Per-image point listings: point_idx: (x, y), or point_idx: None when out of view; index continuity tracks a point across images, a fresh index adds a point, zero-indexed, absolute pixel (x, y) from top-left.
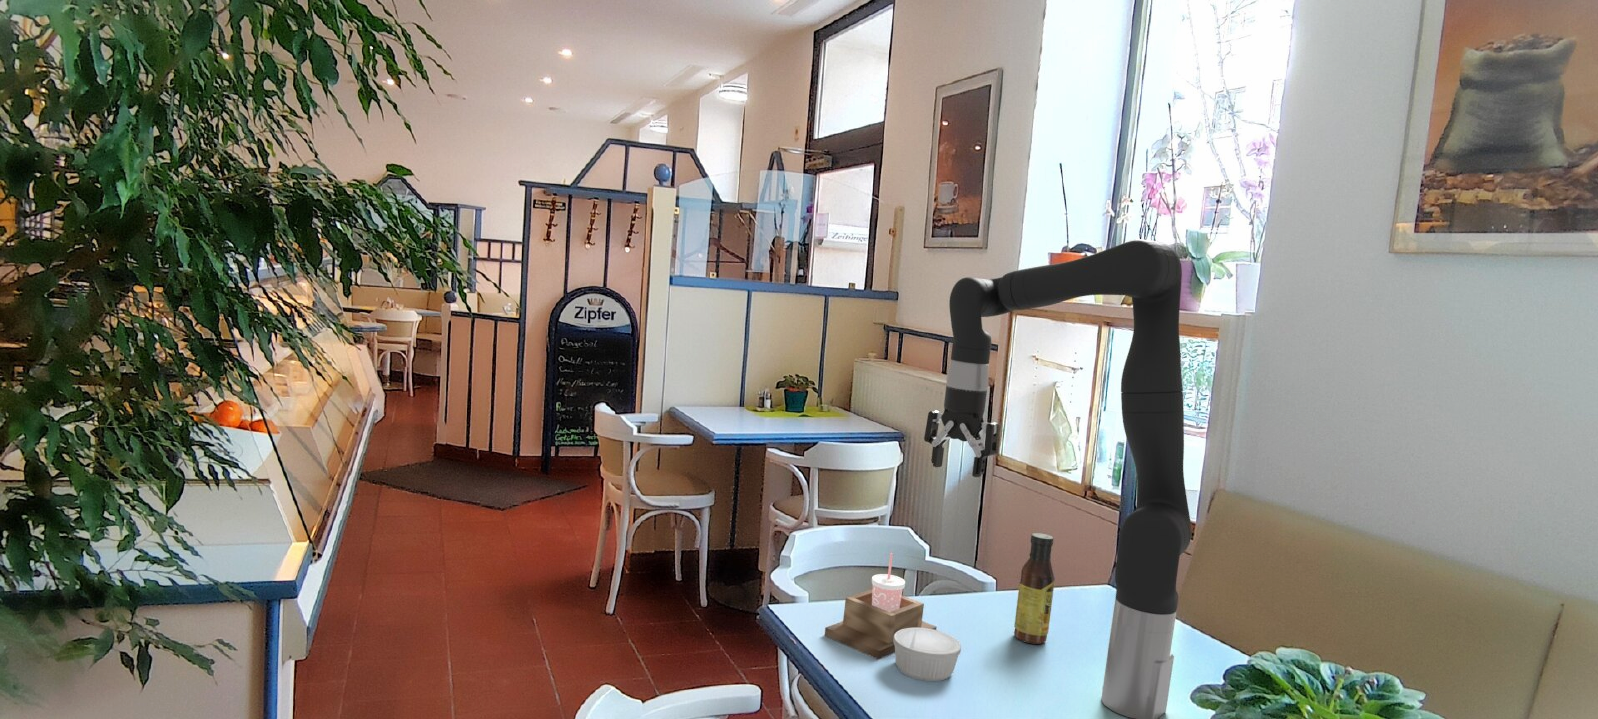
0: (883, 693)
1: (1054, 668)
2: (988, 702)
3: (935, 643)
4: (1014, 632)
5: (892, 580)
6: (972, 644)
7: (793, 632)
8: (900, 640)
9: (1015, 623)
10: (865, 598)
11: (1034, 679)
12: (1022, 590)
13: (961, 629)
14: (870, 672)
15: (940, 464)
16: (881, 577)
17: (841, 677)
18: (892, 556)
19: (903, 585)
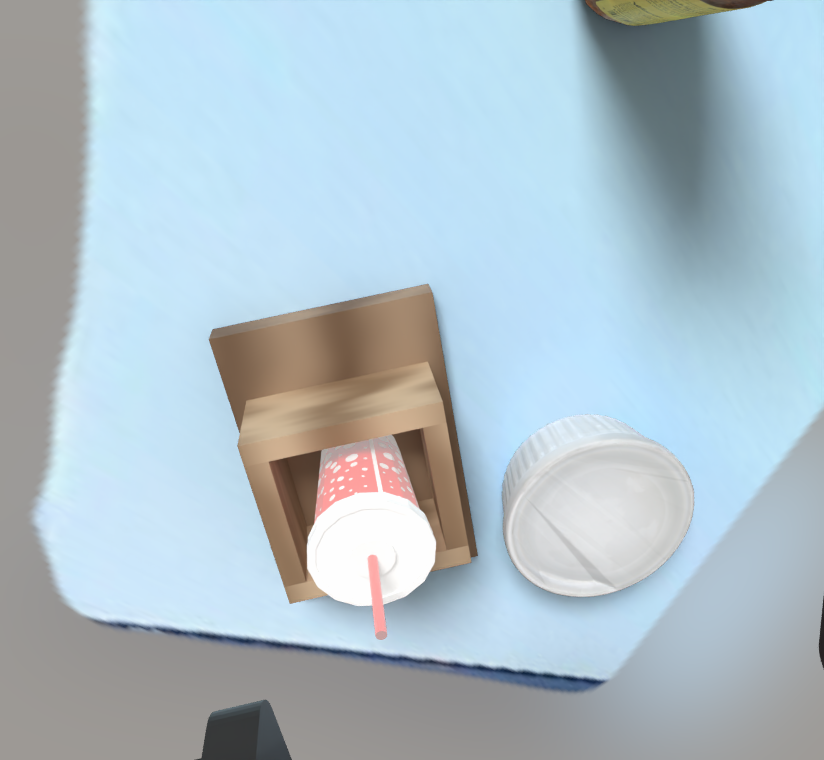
0: (599, 620)
1: (802, 107)
2: (768, 452)
3: (628, 517)
4: (590, 5)
5: (394, 558)
6: (542, 223)
7: (245, 635)
8: (542, 564)
9: (608, 10)
10: (291, 525)
11: (791, 241)
12: (696, 7)
13: (438, 157)
14: (514, 593)
15: (274, 746)
16: (335, 559)
17: (498, 655)
18: (385, 622)
19: (431, 530)
